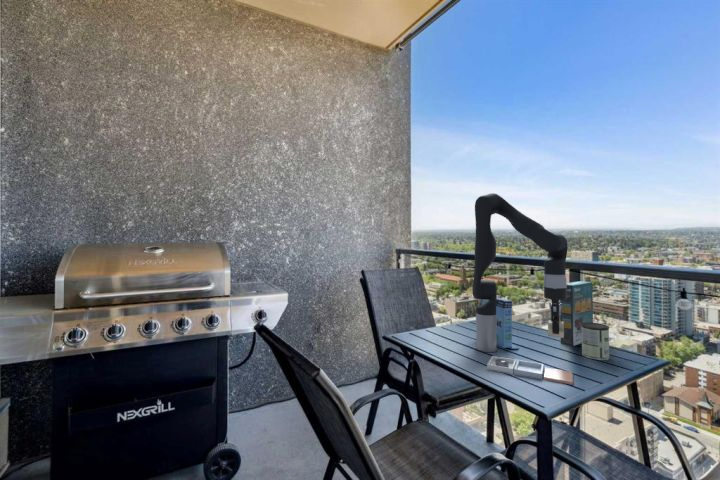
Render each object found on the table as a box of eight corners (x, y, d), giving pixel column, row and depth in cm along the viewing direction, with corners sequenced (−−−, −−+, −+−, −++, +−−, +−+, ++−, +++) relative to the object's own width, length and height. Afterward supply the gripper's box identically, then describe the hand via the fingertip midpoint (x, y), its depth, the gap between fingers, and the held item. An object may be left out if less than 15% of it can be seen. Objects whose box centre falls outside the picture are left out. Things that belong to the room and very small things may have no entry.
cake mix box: (580, 336, 183) (579, 281, 183) (593, 338, 177) (592, 282, 178) (560, 343, 170) (559, 284, 171) (573, 345, 165) (572, 285, 166)
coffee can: (583, 351, 158) (583, 321, 158) (611, 356, 151) (610, 324, 151) (579, 356, 150) (579, 325, 150) (607, 362, 143) (607, 329, 143)
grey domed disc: (496, 362, 141) (496, 358, 141) (509, 365, 139) (509, 360, 139) (494, 366, 137) (494, 361, 137) (507, 369, 135) (507, 364, 135)
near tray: (492, 360, 146) (492, 355, 146) (516, 364, 141) (516, 359, 141) (487, 369, 135) (487, 364, 135) (513, 374, 130) (512, 368, 130)
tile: (545, 370, 135) (545, 367, 135) (572, 374, 130) (572, 371, 130) (544, 379, 125) (544, 377, 125) (573, 384, 121) (573, 382, 121)
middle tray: (517, 365, 140) (517, 359, 140) (543, 369, 135) (543, 363, 135) (514, 374, 130) (514, 369, 130) (542, 379, 125) (542, 373, 125)
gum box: (481, 337, 182) (480, 295, 182) (489, 336, 183) (488, 294, 183) (503, 348, 163) (503, 301, 163) (513, 347, 164) (512, 300, 164)
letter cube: (549, 333, 131) (548, 320, 131) (563, 334, 128) (563, 321, 128) (548, 336, 127) (547, 322, 127) (563, 337, 124) (563, 324, 124)
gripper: (545, 283, 136) (546, 325, 135) (542, 287, 124) (543, 333, 123) (566, 284, 132) (567, 328, 131) (566, 288, 120) (567, 336, 119)
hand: (556, 330), depth 127 cm, fingers closed on letter cube, 5 cm apart
